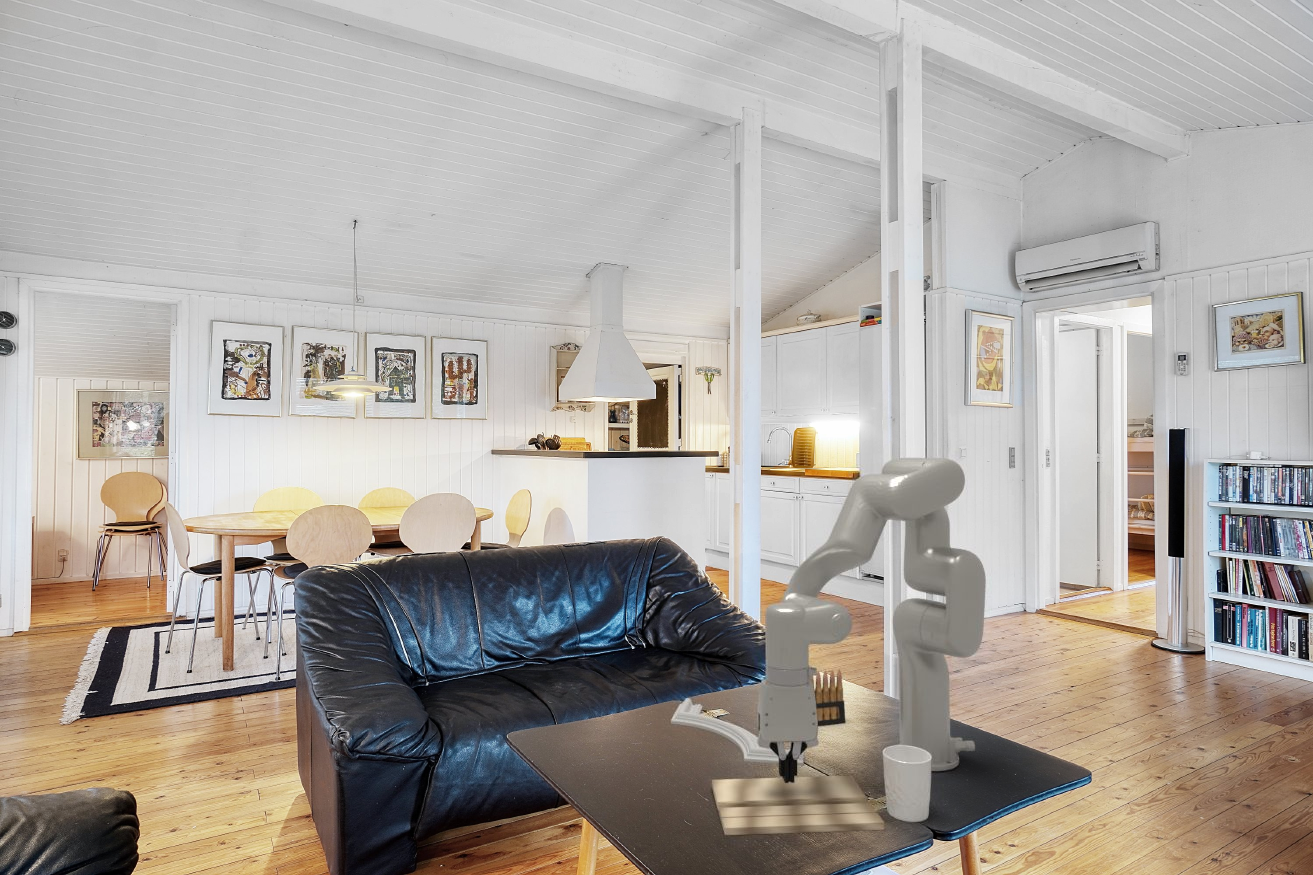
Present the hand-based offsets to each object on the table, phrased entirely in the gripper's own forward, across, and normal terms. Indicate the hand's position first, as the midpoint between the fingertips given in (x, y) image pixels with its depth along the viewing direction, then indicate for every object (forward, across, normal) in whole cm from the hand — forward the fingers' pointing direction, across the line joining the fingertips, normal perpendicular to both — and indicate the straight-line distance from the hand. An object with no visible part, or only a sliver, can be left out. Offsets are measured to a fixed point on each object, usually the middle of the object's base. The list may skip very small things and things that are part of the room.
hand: (788, 779), depth 135 cm
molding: (+4, +5, -33) cm, 34 cm away
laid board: (+4, 0, +8) cm, 9 cm away
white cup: (+4, -19, +6) cm, 20 cm away
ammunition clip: (+4, -16, -37) cm, 41 cm away
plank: (+3, 0, -1) cm, 4 cm away
